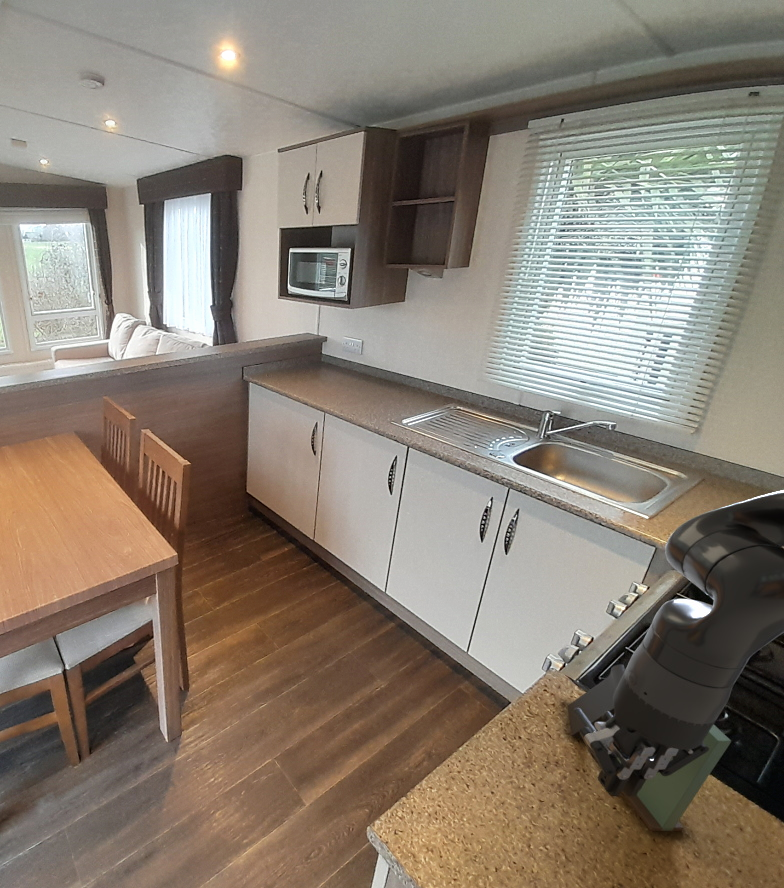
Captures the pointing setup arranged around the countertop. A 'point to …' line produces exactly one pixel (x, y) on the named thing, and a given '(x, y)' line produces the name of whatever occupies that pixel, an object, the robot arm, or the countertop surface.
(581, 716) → the hanger
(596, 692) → the phone stand
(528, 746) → the countertop surface
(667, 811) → the door panel
